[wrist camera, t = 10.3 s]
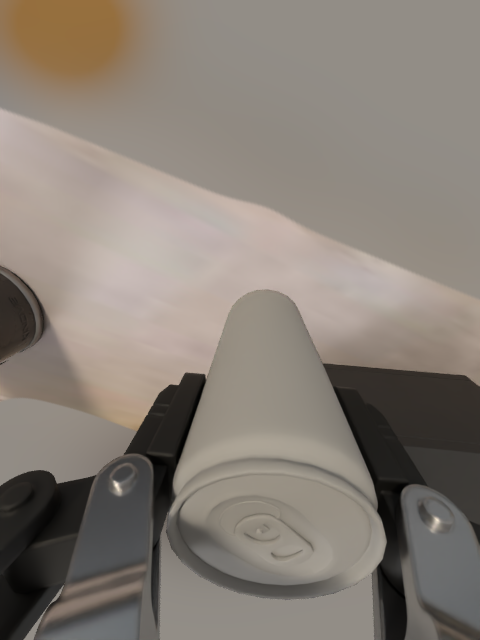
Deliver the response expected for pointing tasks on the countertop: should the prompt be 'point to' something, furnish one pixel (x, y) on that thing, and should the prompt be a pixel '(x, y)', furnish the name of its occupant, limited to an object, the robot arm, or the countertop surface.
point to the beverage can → (273, 467)
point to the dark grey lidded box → (428, 424)
